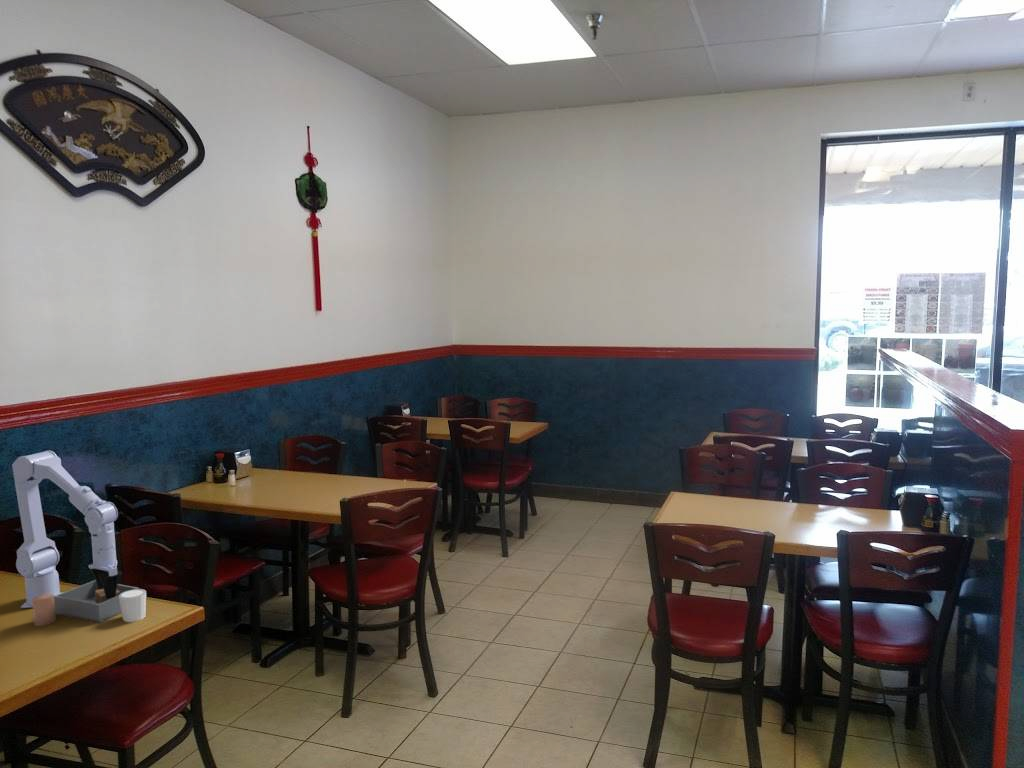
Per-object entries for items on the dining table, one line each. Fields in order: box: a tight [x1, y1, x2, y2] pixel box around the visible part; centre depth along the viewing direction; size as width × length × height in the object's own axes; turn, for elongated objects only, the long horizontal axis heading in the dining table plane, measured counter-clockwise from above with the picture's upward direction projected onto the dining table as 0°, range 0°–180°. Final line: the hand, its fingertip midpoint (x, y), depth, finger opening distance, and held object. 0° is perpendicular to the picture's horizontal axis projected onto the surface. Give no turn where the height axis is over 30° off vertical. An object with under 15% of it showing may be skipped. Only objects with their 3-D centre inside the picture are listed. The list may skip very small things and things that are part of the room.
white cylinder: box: [119, 588, 147, 623], centre depth 210 cm, size 7×7×7 cm
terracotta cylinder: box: [32, 594, 57, 627], centre depth 208 cm, size 5×5×7 cm
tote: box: [54, 579, 140, 623], centre depth 216 cm, size 17×13×5 cm
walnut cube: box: [95, 589, 120, 604], centre depth 215 cm, size 5×5×5 cm
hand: (107, 594), depth 215 cm, fingers open, 6 cm apart
